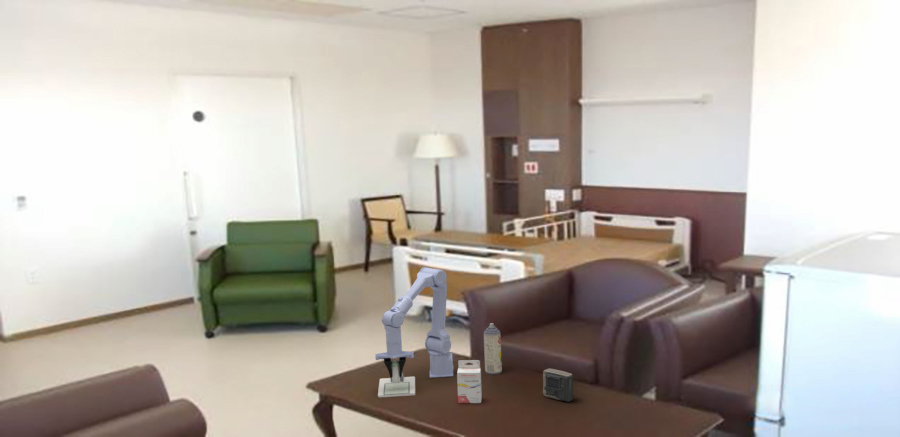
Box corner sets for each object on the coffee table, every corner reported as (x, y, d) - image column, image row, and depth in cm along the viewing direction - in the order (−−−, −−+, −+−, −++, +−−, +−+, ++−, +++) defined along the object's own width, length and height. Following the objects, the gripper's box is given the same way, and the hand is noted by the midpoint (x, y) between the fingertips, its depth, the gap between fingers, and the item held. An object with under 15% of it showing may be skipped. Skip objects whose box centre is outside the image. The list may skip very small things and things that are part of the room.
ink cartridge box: (457, 403, 259) (455, 364, 257) (459, 398, 264) (457, 359, 262) (481, 403, 258) (479, 364, 256) (482, 398, 263) (480, 359, 261)
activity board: (414, 378, 287) (414, 372, 286) (415, 395, 269) (414, 388, 269) (379, 380, 286) (379, 374, 286) (377, 397, 268) (377, 390, 268)
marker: (400, 380, 275) (399, 360, 274) (400, 383, 271) (399, 362, 270) (392, 380, 274) (390, 360, 273) (391, 383, 271) (390, 363, 270)
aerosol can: (503, 373, 287) (501, 325, 284) (486, 375, 287) (484, 326, 284) (500, 368, 294) (498, 320, 291) (484, 369, 293) (482, 322, 291)
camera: (576, 399, 258) (575, 372, 256) (567, 404, 254) (566, 377, 252) (550, 392, 266) (549, 366, 264) (540, 397, 261) (540, 370, 260)
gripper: (374, 346, 267) (376, 381, 268) (413, 344, 267) (414, 379, 269) (375, 340, 274) (377, 375, 275) (413, 338, 274) (414, 372, 276)
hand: (395, 376), depth 273 cm, fingers closed on marker, 3 cm apart
